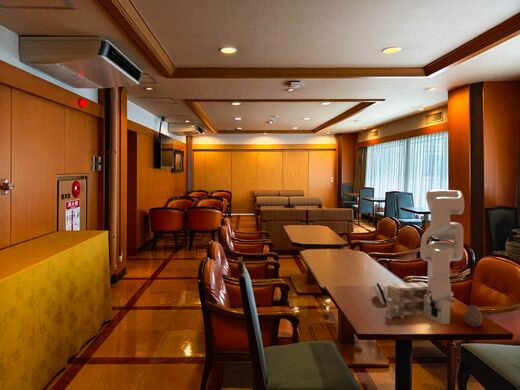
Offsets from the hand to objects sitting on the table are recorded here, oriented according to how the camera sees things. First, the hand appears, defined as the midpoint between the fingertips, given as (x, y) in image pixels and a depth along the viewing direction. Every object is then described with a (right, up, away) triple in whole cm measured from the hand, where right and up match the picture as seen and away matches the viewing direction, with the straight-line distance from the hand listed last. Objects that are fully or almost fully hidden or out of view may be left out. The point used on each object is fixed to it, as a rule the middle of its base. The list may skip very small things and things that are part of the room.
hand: (438, 315), depth 174 cm
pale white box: (0, -2, +2) cm, 3 cm away
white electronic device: (-17, -2, +30) cm, 34 cm away
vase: (+13, -3, -5) cm, 14 cm away
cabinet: (-11, -2, +9) cm, 15 cm away
